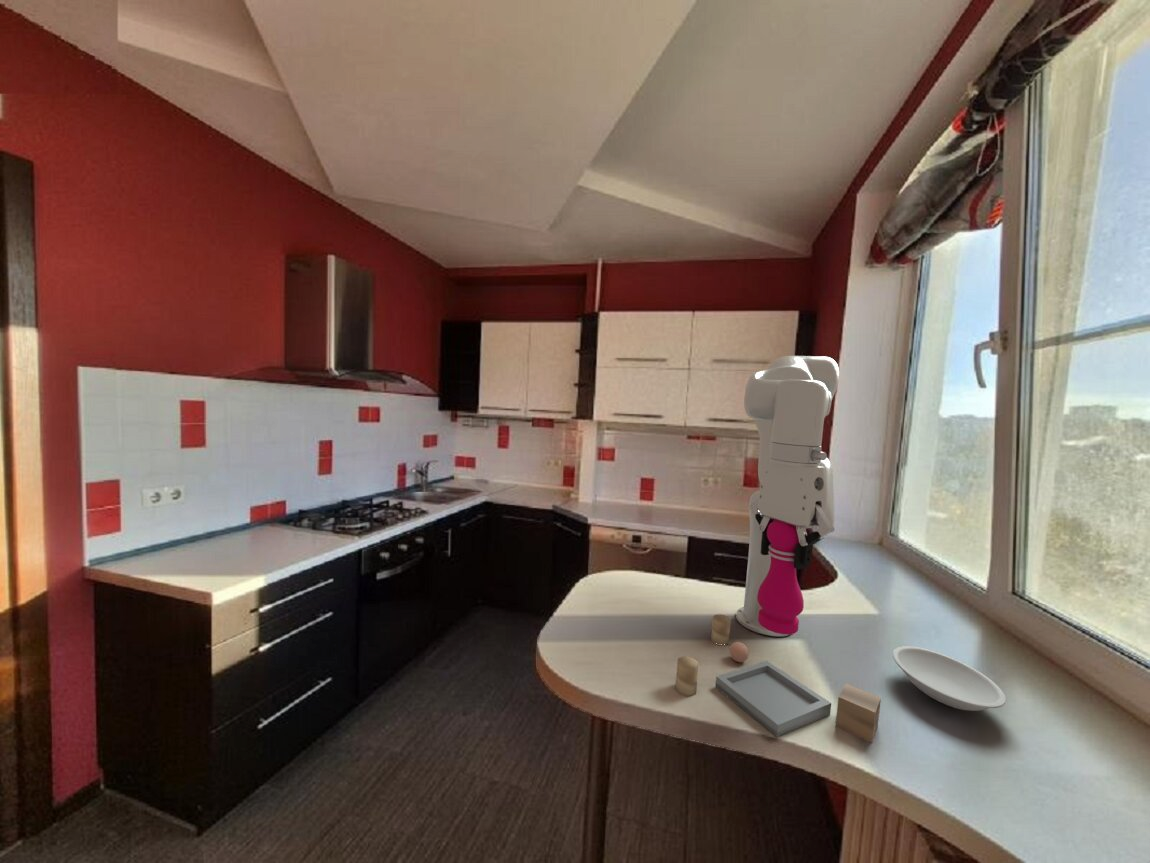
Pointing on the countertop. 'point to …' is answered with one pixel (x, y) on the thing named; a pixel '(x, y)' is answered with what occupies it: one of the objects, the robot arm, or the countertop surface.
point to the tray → (773, 697)
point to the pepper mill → (781, 582)
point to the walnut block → (858, 712)
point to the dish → (948, 679)
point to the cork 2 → (720, 629)
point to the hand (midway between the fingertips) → (784, 559)
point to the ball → (739, 652)
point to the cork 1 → (687, 676)
